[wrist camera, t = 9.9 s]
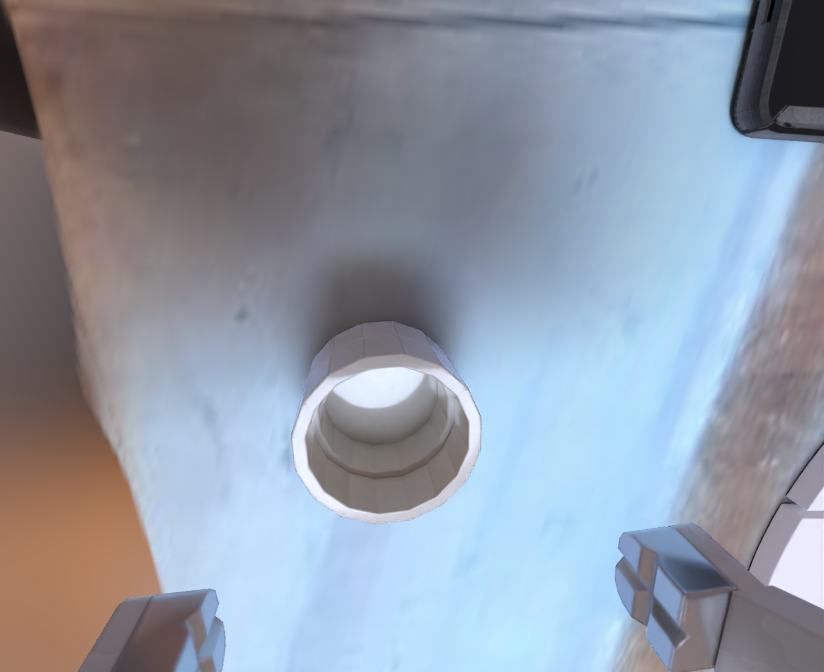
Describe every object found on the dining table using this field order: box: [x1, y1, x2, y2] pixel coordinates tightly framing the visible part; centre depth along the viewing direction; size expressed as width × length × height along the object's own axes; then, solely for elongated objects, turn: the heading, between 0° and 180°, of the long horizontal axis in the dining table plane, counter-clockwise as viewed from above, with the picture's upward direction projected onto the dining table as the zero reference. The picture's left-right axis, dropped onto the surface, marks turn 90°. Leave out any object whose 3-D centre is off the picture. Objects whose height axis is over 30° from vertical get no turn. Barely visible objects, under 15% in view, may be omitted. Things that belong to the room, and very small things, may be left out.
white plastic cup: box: [291, 321, 481, 524], centre depth 16 cm, size 6×6×4 cm
